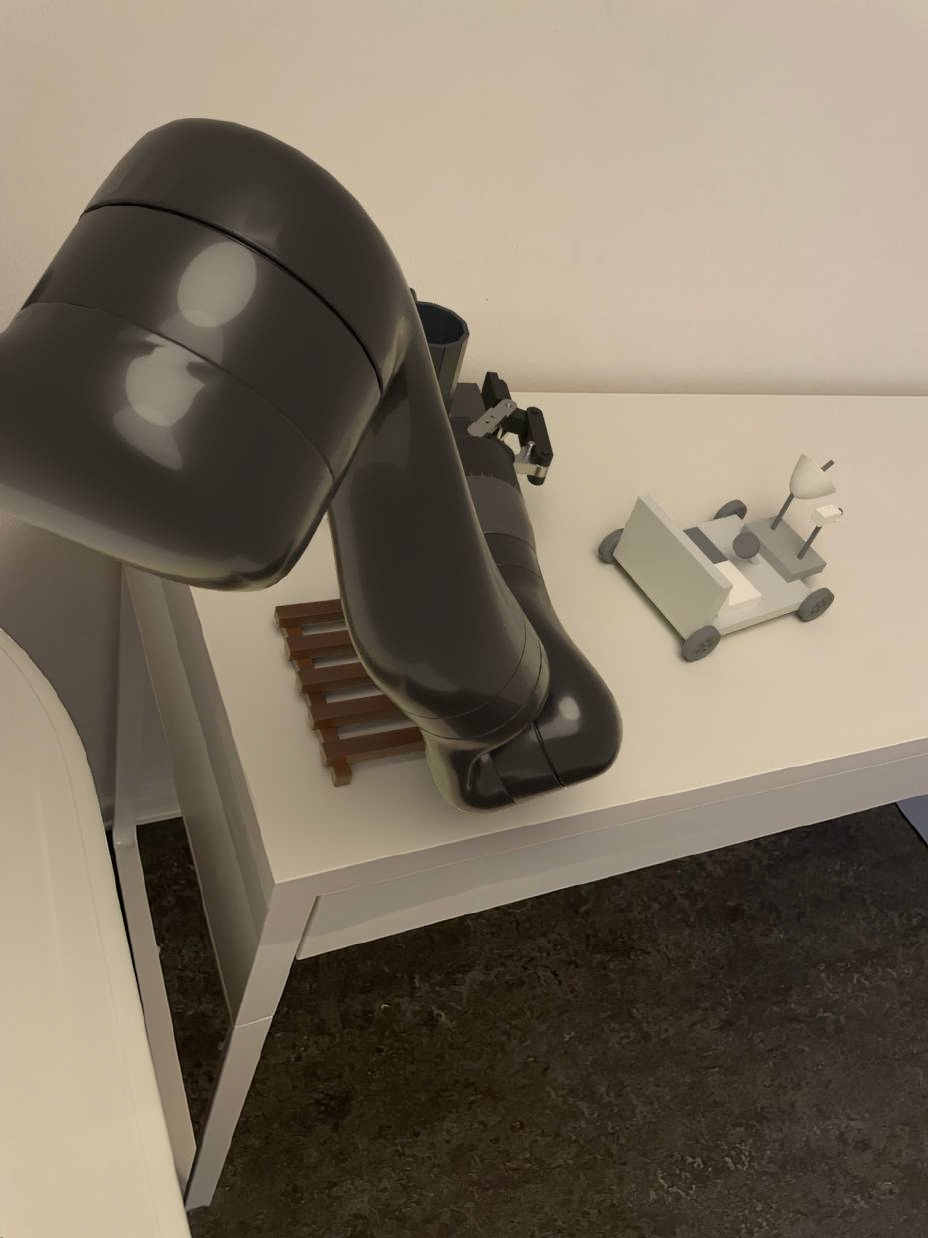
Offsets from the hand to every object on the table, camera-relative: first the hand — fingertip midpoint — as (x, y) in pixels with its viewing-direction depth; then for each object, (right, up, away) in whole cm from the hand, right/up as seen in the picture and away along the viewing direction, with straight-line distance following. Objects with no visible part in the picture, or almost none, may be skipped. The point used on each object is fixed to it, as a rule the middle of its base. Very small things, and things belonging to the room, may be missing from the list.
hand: (432, 375), depth 76 cm
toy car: (+23, -15, +6) cm, 28 cm away
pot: (-3, +1, +11) cm, 11 cm away
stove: (-3, -3, +10) cm, 11 cm away
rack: (-4, -22, -9) cm, 25 cm away
